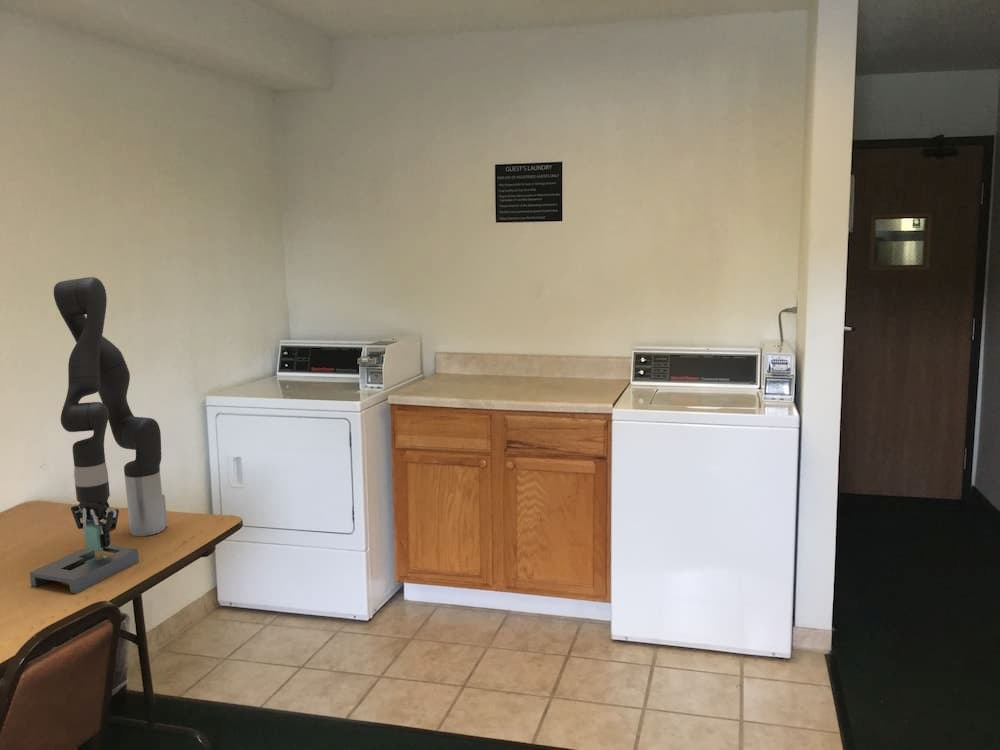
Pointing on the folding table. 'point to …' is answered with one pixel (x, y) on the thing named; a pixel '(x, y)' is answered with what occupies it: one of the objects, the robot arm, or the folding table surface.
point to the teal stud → (93, 541)
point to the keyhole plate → (85, 567)
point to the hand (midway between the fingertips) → (98, 545)
